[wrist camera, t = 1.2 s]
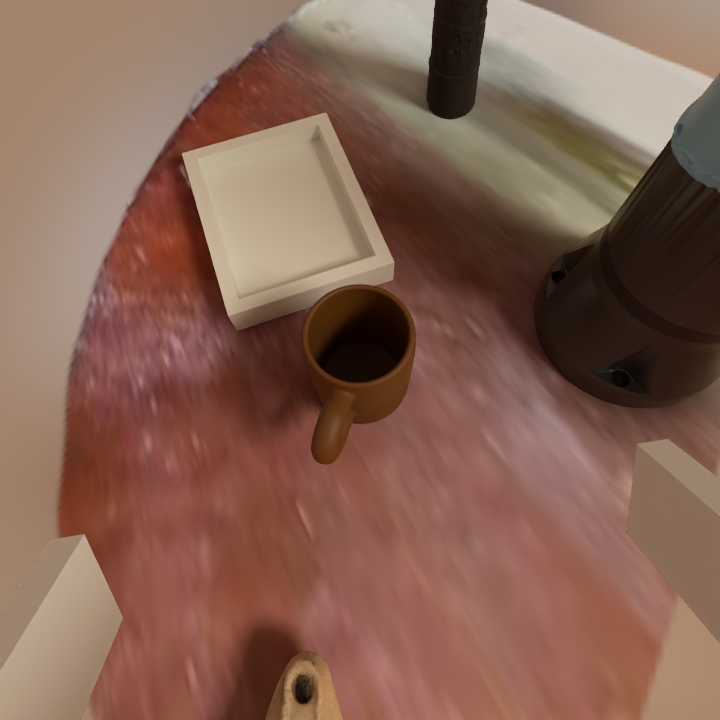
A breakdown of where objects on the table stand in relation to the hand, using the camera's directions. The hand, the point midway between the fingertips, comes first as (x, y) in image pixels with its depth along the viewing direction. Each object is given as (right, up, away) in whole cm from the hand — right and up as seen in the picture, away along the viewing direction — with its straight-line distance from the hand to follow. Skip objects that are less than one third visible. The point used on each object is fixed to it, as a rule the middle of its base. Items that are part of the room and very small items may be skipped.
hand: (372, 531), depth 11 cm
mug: (-1, 0, +27) cm, 27 cm away
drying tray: (-7, +17, +34) cm, 38 cm away
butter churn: (+8, +32, +39) cm, 51 cm away
